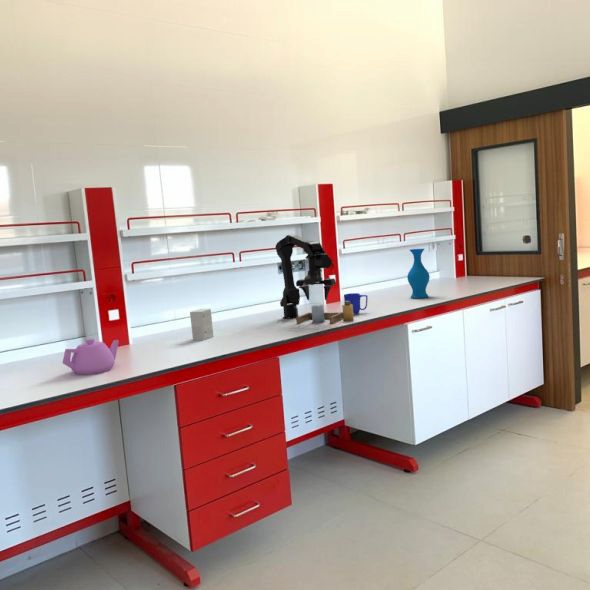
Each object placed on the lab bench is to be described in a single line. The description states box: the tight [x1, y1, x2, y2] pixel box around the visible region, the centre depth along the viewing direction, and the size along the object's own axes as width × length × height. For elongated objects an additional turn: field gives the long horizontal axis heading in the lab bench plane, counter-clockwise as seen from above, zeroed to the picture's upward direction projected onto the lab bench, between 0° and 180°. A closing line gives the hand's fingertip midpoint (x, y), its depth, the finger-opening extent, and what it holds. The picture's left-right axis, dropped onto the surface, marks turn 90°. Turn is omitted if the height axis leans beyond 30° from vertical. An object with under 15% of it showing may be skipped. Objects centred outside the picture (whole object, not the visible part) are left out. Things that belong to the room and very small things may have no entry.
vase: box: [407, 248, 431, 299], centre depth 352 cm, size 12×13×28 cm
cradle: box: [295, 311, 343, 325], centre depth 299 cm, size 19×14×3 cm
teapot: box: [62, 338, 120, 376], centre depth 227 cm, size 22×16×12 cm
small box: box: [189, 308, 214, 341], centre depth 276 cm, size 8×6×13 cm
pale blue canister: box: [310, 304, 326, 324], centre depth 298 cm, size 6×9×8 cm
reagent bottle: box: [341, 300, 355, 322], centre depth 294 cm, size 5×5×9 cm
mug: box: [343, 292, 369, 315], centre depth 313 cm, size 8×12×10 cm
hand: (317, 300), depth 296 cm, fingers open, 9 cm apart
